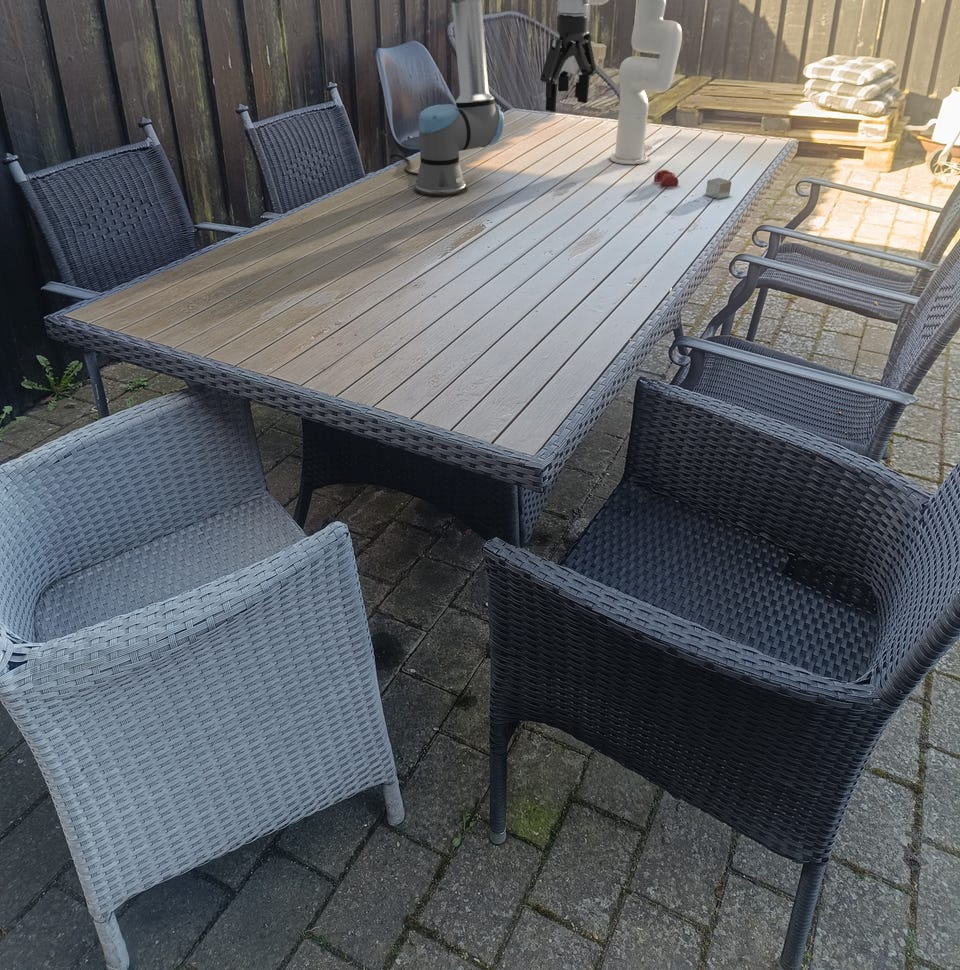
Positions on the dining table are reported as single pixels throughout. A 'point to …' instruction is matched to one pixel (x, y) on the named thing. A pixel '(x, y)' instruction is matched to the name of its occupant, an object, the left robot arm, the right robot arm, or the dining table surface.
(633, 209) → the dining table surface
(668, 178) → the red lumpy rounded piece
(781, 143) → the dining table surface
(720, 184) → the grey square block
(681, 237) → the dining table surface
